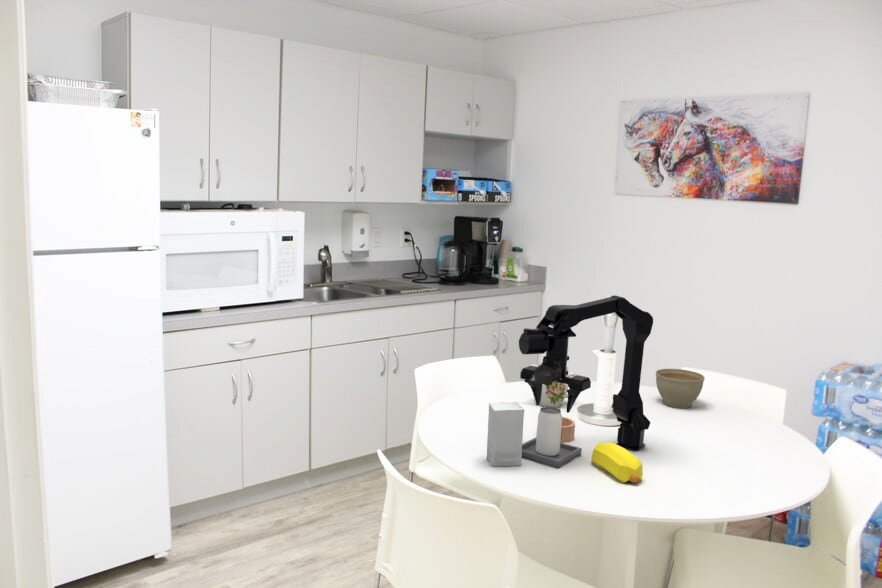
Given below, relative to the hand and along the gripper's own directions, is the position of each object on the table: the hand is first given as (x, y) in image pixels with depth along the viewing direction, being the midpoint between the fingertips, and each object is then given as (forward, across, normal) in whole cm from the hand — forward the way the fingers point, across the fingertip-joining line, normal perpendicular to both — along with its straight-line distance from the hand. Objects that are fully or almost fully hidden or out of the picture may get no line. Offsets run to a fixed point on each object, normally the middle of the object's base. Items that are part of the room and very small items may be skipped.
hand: (552, 408), depth 201 cm
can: (+12, 0, -2) cm, 12 cm away
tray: (+13, 0, -2) cm, 13 cm away
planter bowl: (+14, +10, +75) cm, 77 cm away
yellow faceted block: (+13, +19, 0) cm, 23 cm away
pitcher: (+13, -22, +43) cm, 50 cm away
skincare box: (+13, -6, -14) cm, 20 cm away
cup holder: (+13, -6, +14) cm, 20 cm away
